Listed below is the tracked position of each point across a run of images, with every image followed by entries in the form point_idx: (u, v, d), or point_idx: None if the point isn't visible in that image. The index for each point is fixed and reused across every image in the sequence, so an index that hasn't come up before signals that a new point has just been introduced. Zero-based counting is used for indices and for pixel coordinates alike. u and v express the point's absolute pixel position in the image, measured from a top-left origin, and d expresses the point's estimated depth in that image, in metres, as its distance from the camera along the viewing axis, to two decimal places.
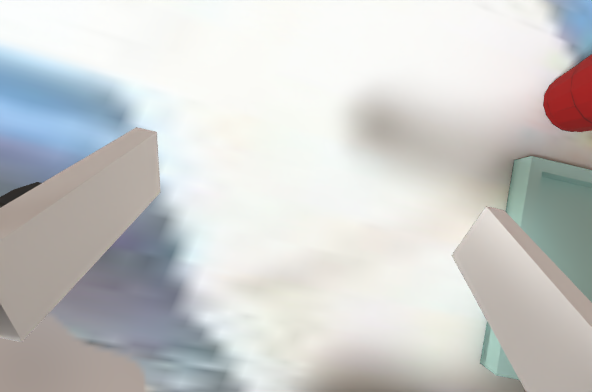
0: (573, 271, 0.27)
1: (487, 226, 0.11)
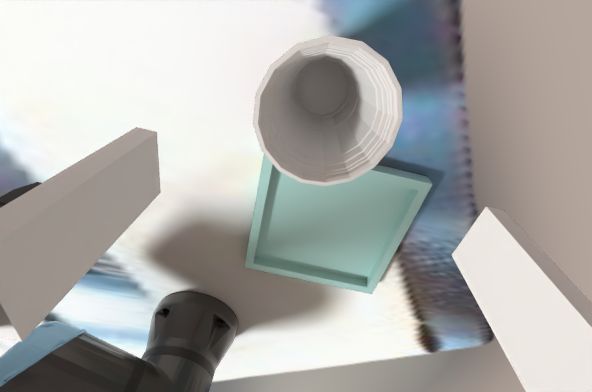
0: (307, 218, 0.39)
1: (487, 226, 0.11)
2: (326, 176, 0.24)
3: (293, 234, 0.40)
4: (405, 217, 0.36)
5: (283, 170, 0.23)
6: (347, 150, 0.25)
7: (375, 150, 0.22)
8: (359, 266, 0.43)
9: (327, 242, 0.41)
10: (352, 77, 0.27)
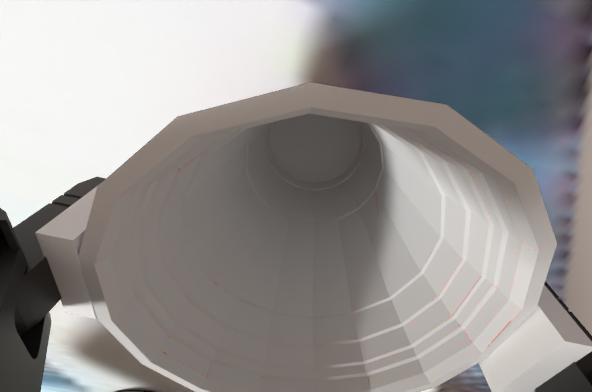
0: None
1: None
2: (316, 384, 0.10)
3: None
4: None
5: None
6: (364, 303, 0.11)
7: (438, 346, 0.09)
8: None
9: None
10: (372, 133, 0.13)
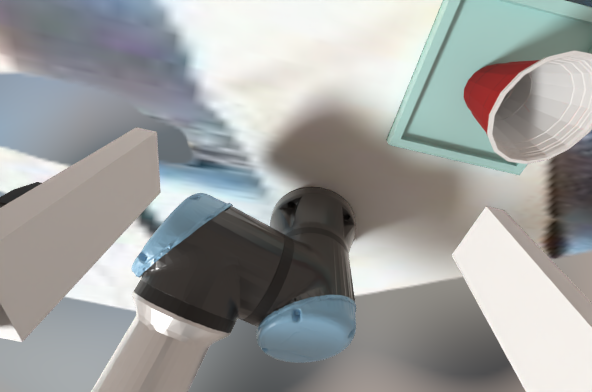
0: None
1: (487, 226, 0.11)
2: (524, 156, 0.31)
3: (448, 103, 0.39)
4: None
5: (498, 151, 0.29)
6: (533, 136, 0.32)
7: (570, 135, 0.29)
8: None
9: None
10: (527, 79, 0.34)
